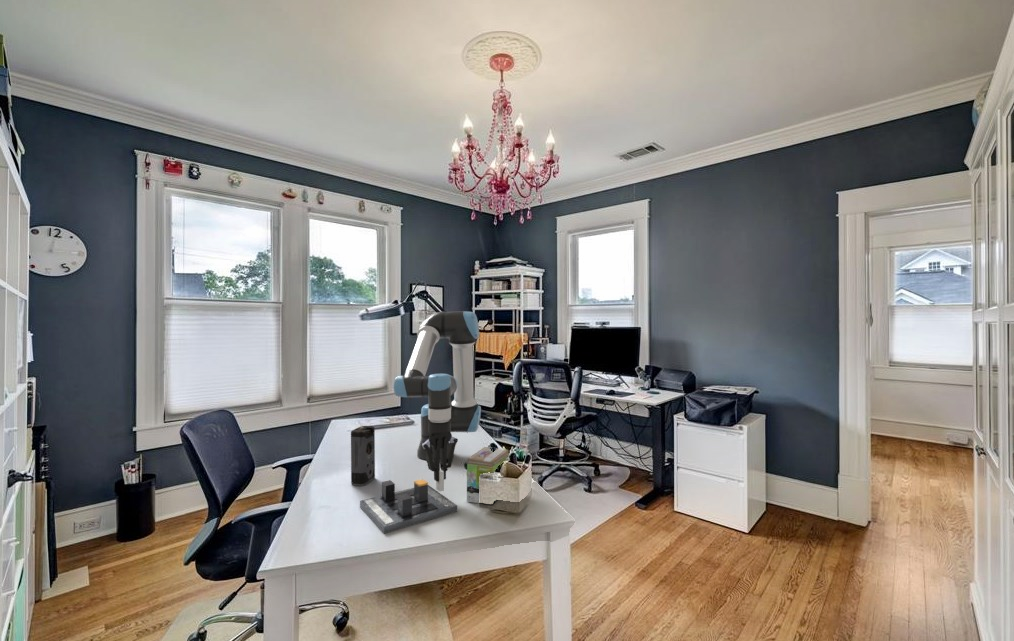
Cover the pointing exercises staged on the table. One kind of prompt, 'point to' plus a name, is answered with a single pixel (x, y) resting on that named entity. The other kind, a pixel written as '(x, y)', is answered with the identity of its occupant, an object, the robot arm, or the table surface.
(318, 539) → the table surface
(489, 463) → the tea box
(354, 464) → the electronic device
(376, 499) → the panel
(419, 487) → the block
